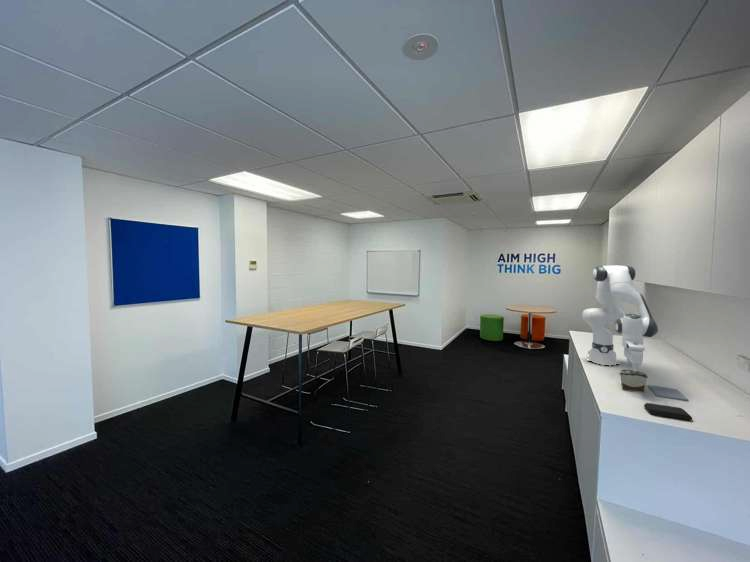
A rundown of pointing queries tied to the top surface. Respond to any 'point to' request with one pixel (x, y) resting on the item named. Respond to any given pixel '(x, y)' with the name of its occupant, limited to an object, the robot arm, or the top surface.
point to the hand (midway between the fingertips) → (632, 368)
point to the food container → (633, 380)
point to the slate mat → (667, 393)
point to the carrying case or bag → (667, 411)
